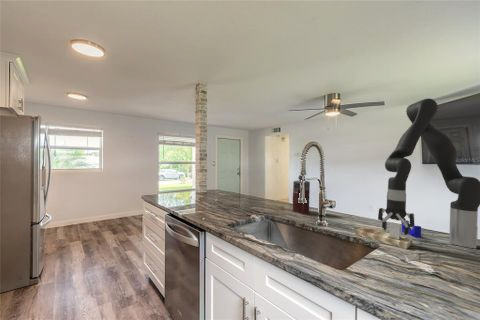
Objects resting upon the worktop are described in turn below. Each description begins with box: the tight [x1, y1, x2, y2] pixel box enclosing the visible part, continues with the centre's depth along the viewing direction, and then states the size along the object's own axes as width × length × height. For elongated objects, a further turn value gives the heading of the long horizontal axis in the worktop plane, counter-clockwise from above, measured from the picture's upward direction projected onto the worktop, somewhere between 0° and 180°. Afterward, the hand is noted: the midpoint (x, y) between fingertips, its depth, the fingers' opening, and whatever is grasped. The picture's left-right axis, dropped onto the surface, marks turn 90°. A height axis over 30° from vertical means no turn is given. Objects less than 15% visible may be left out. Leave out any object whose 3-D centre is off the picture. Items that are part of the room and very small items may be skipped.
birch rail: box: [354, 226, 413, 250], centre depth 107 cm, size 22×10×3 cm, turn 39°
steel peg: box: [388, 222, 403, 241], centre depth 103 cm, size 4×4×9 cm
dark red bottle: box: [292, 174, 311, 215], centre depth 160 cm, size 9×11×28 cm
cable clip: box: [400, 220, 422, 239], centre depth 117 cm, size 12×4×6 cm, turn 170°
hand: (394, 231), depth 103 cm, fingers open, 8 cm apart
